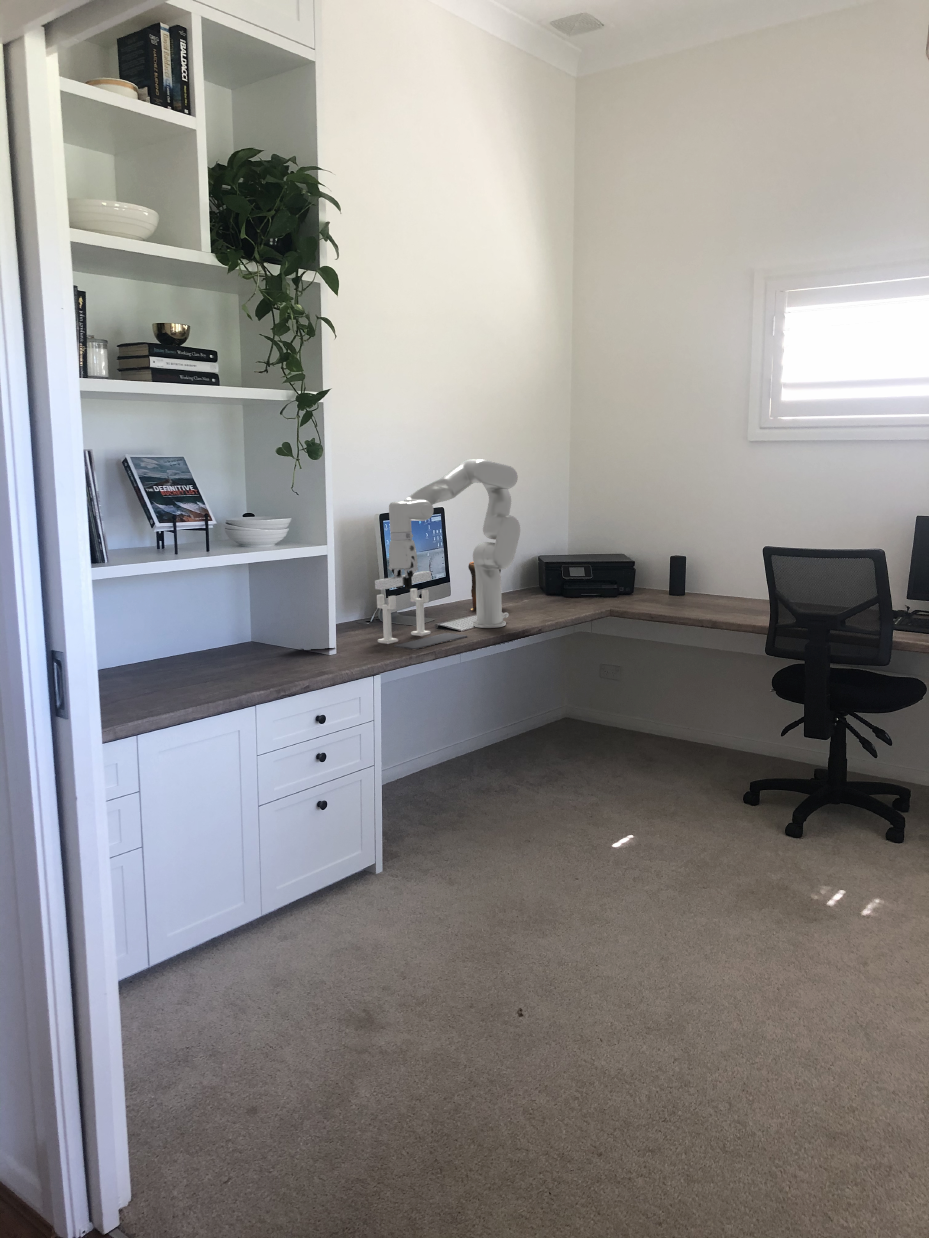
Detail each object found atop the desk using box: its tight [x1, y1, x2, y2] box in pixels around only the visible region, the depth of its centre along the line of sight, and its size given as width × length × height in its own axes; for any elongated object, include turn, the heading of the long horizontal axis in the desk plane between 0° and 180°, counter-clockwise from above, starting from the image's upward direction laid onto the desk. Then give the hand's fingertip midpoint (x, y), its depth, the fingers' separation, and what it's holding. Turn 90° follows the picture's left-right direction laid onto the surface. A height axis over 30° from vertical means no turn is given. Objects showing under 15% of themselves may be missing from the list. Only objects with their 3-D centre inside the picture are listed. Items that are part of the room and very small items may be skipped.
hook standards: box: [376, 588, 432, 645], centre depth 339 cm, size 22×7×16 cm, turn 140°
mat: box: [393, 632, 468, 650], centre depth 332 cm, size 27×10×1 cm, turn 140°
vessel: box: [467, 561, 502, 613], centre depth 398 cm, size 14×14×20 cm
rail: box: [374, 570, 432, 591], centre depth 337 cm, size 25×4×3 cm, turn 140°
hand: (404, 587), depth 338 cm, fingers closed on rail, 3 cm apart
